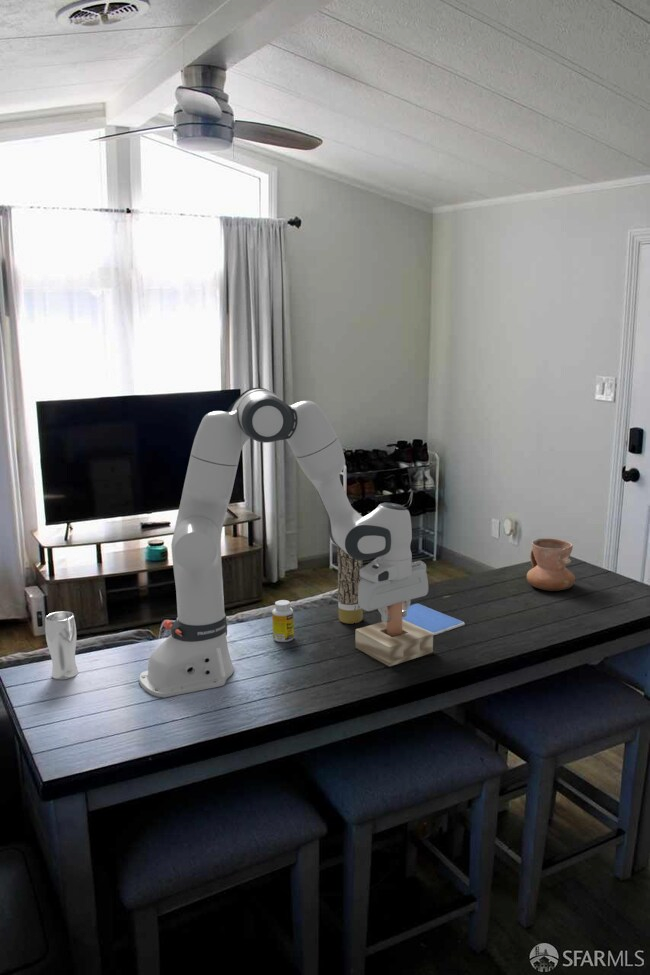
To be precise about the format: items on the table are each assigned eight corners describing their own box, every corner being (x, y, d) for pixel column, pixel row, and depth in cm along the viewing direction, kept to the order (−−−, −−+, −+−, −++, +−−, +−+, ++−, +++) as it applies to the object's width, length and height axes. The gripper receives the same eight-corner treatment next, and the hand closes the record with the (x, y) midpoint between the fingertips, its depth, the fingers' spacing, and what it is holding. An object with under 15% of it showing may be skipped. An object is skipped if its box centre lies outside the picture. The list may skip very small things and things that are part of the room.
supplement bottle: (288, 644, 208) (287, 607, 206) (269, 641, 210) (268, 604, 208) (297, 636, 213) (296, 600, 211) (278, 633, 215) (277, 597, 213)
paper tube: (336, 623, 221) (334, 537, 216) (341, 614, 228) (340, 530, 222) (360, 625, 220) (359, 538, 214) (364, 616, 226) (364, 531, 221)
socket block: (389, 666, 194) (389, 647, 193) (355, 647, 205) (355, 629, 204) (432, 652, 202) (433, 633, 200) (397, 634, 213) (397, 617, 212)
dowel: (393, 642, 200) (392, 604, 198) (383, 637, 203) (383, 600, 201) (405, 638, 202) (405, 601, 200) (395, 633, 205) (395, 596, 203)
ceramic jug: (587, 592, 242) (589, 547, 239) (546, 598, 237) (548, 552, 235) (551, 576, 259) (553, 533, 256) (513, 581, 254) (514, 538, 251)
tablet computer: (466, 626, 219) (466, 621, 219) (433, 637, 212) (433, 633, 212) (417, 606, 235) (417, 602, 234) (385, 617, 227) (385, 612, 227)
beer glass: (81, 667, 197) (76, 609, 194) (78, 679, 190) (72, 620, 187) (52, 669, 196) (46, 612, 193) (47, 682, 189) (41, 622, 186)
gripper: (417, 556, 207) (417, 606, 210) (353, 571, 196) (354, 624, 199) (433, 562, 202) (433, 613, 205) (369, 578, 191) (370, 632, 194)
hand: (394, 619), depth 202 cm, fingers closed on dowel, 4 cm apart
